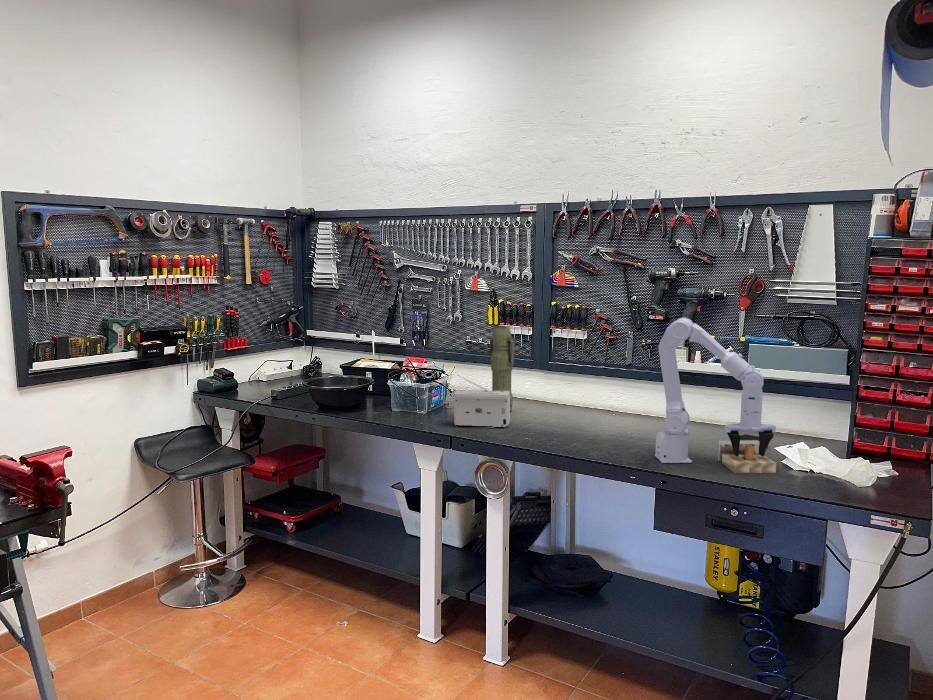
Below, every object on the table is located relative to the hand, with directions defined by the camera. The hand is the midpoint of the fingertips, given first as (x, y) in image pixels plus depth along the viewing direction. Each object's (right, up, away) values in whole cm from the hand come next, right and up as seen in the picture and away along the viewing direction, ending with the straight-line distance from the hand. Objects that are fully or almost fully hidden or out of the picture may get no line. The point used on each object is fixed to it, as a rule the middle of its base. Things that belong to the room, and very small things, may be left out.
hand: (748, 455), depth 206 cm
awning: (0, -3, +6) cm, 7 cm away
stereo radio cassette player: (-79, +3, +53) cm, 95 cm away
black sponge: (+8, -2, +19) cm, 21 cm away
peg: (0, -4, 0) cm, 4 cm away
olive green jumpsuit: (-70, +6, +78) cm, 105 cm away
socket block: (0, -4, 0) cm, 4 cm away
